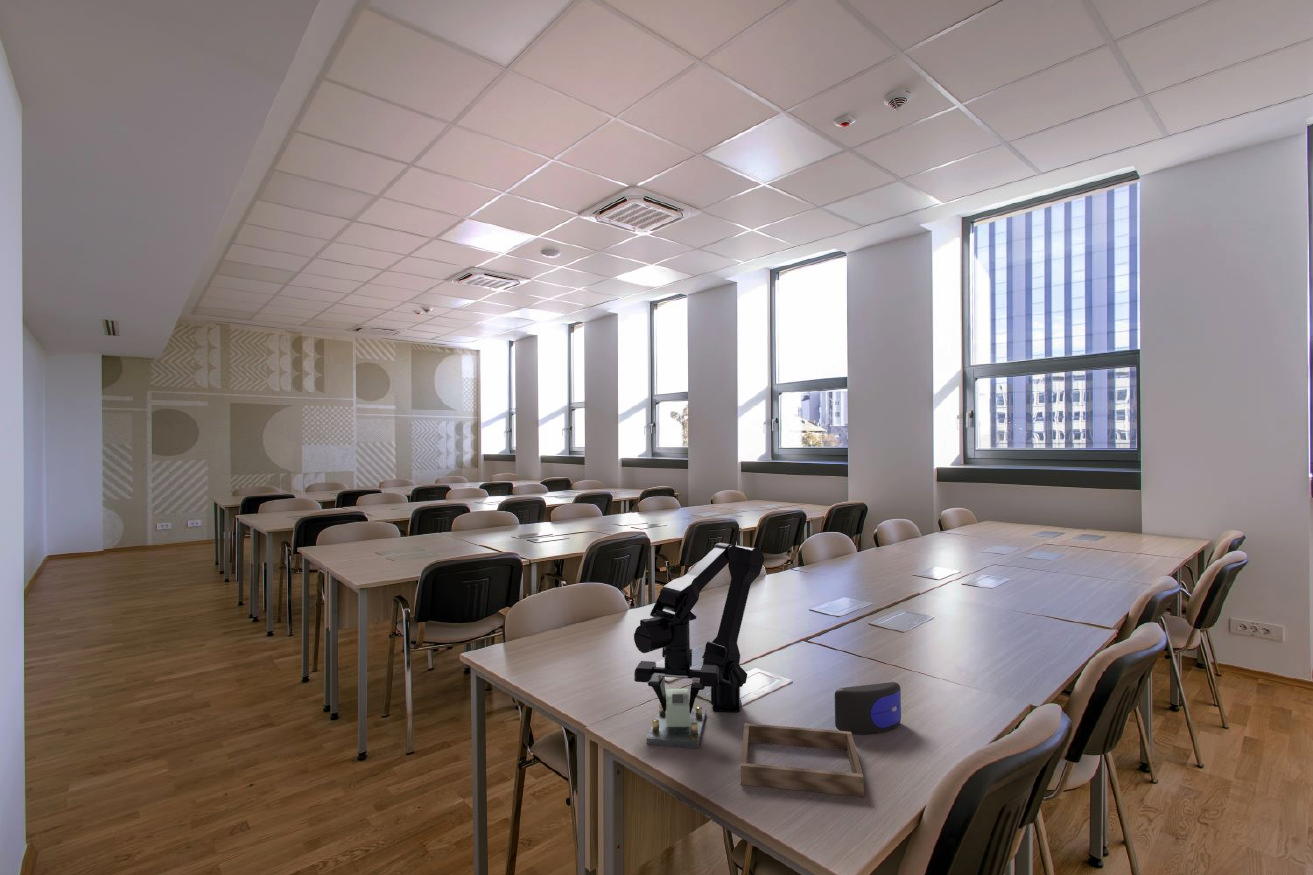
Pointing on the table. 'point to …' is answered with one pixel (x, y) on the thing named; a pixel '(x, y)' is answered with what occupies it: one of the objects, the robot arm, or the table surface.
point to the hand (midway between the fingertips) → (677, 711)
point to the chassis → (677, 730)
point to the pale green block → (677, 708)
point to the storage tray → (800, 776)
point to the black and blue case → (868, 708)
